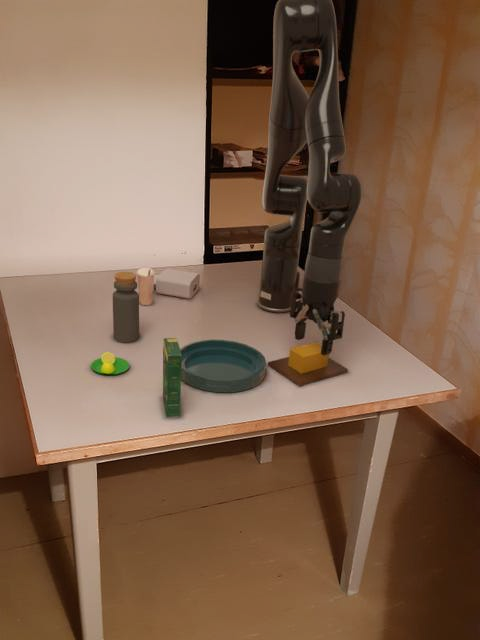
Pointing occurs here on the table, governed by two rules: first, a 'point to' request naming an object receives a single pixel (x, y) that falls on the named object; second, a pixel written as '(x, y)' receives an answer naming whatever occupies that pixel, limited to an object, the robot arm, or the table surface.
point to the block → (307, 358)
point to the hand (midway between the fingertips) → (312, 346)
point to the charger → (177, 283)
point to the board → (310, 376)
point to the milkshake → (145, 285)
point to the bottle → (125, 308)
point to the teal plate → (222, 365)
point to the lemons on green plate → (109, 364)
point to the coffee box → (171, 377)
